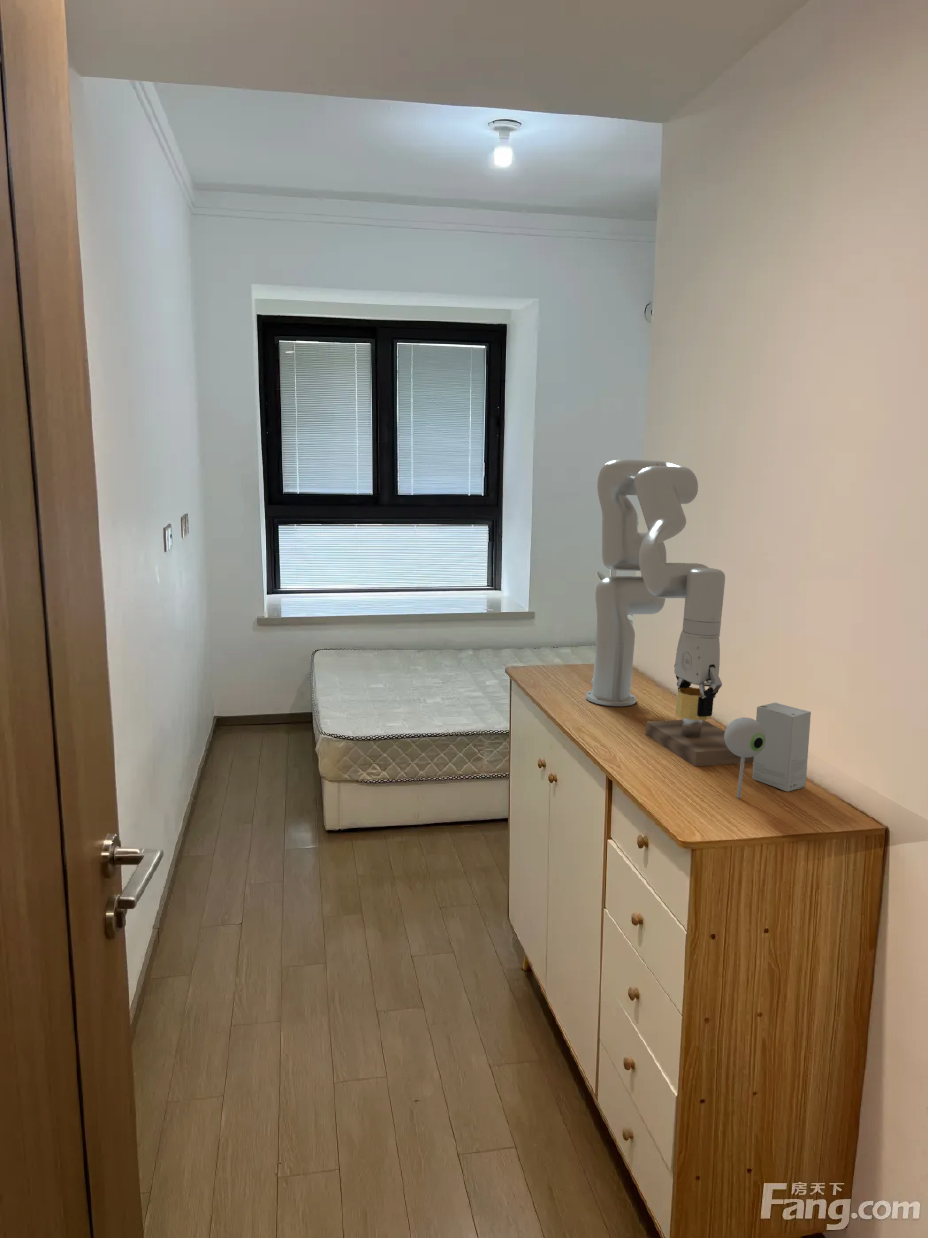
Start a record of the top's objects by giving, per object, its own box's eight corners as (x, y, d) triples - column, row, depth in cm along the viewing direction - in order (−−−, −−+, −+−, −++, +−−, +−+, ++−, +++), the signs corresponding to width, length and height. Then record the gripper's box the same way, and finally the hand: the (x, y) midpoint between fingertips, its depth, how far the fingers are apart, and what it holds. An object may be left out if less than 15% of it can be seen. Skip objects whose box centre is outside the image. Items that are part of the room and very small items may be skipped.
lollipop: (736, 807, 147) (745, 725, 145) (709, 792, 154) (717, 714, 151) (767, 802, 150) (777, 722, 148) (740, 788, 157) (748, 711, 154)
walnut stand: (645, 734, 186) (646, 721, 186) (700, 731, 190) (701, 718, 190) (694, 766, 167) (696, 752, 167) (754, 762, 171) (756, 748, 171)
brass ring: (669, 710, 179) (671, 688, 178) (698, 709, 181) (700, 686, 180) (687, 720, 172) (689, 697, 171) (717, 719, 174) (720, 695, 173)
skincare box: (805, 787, 158) (815, 712, 156) (785, 793, 155) (795, 716, 152) (768, 773, 165) (776, 700, 163) (748, 778, 162) (756, 704, 159)
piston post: (677, 732, 179) (680, 700, 178) (694, 731, 180) (697, 700, 179) (687, 738, 175) (690, 706, 174) (704, 737, 176) (707, 705, 175)
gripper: (663, 620, 181) (656, 700, 184) (709, 636, 164) (701, 723, 167) (694, 620, 183) (687, 698, 186) (742, 635, 166) (733, 722, 169)
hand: (693, 710), depth 176 cm, fingers closed on brass ring, 7 cm apart
